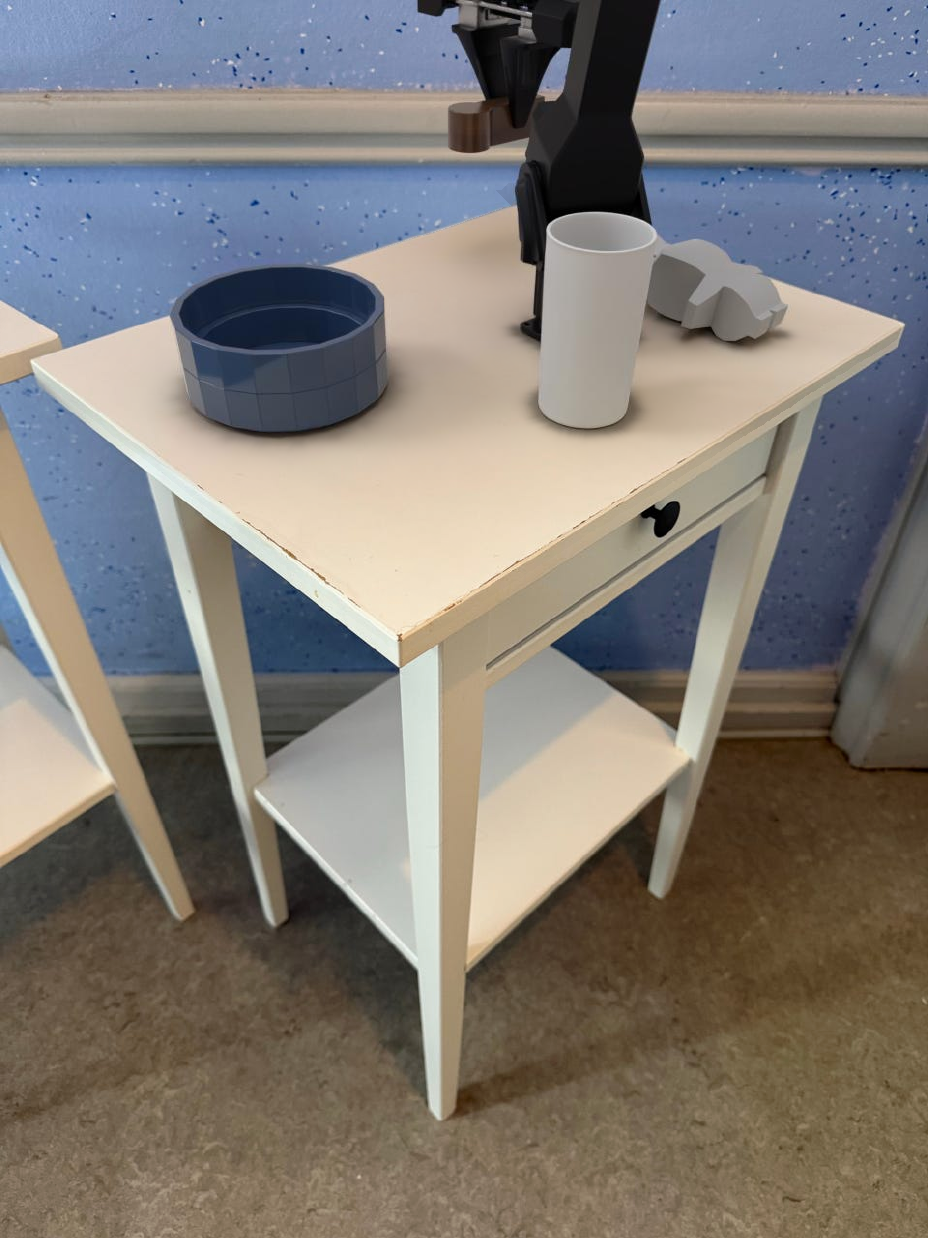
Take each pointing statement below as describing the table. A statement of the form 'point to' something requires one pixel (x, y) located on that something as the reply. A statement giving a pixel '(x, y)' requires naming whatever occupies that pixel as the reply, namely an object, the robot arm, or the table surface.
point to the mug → (592, 315)
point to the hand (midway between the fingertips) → (509, 124)
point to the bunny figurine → (712, 290)
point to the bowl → (282, 346)
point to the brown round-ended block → (484, 125)
